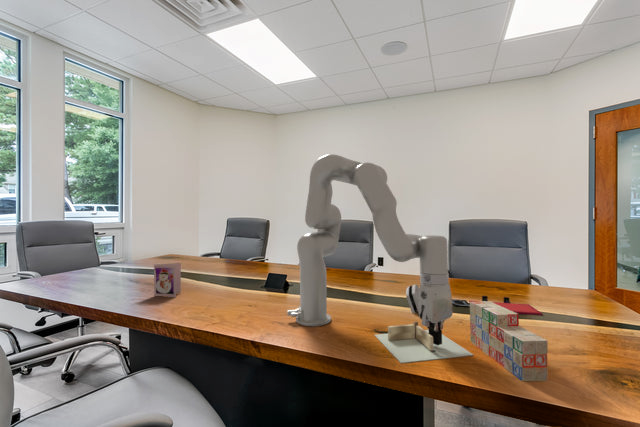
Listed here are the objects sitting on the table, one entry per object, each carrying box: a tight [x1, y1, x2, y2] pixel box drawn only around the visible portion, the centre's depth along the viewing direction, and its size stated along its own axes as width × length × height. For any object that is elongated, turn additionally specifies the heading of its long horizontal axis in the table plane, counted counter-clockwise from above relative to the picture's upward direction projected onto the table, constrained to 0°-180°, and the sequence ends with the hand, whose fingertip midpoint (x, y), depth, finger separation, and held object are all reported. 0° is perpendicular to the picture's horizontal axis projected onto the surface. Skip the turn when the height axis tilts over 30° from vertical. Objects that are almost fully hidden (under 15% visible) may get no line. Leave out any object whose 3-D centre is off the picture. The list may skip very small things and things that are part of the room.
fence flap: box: [416, 325, 433, 350], centre depth 85 cm, size 8×1×4 cm, turn 8°
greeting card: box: [153, 262, 182, 298], centre depth 141 cm, size 11×7×15 cm, turn 80°
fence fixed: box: [387, 321, 419, 341], centre depth 89 cm, size 10×1×5 cm, turn 101°
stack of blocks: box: [469, 300, 549, 382], centre depth 77 cm, size 21×6×12 cm, turn 3°
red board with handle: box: [452, 295, 544, 316], centre depth 121 cm, size 30×3×15 cm
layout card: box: [374, 329, 474, 364], centre depth 86 cm, size 21×18×1 cm
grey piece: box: [405, 284, 420, 314], centre depth 121 cm, size 17×5×10 cm, turn 157°
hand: (435, 343), depth 84 cm, fingers closed
